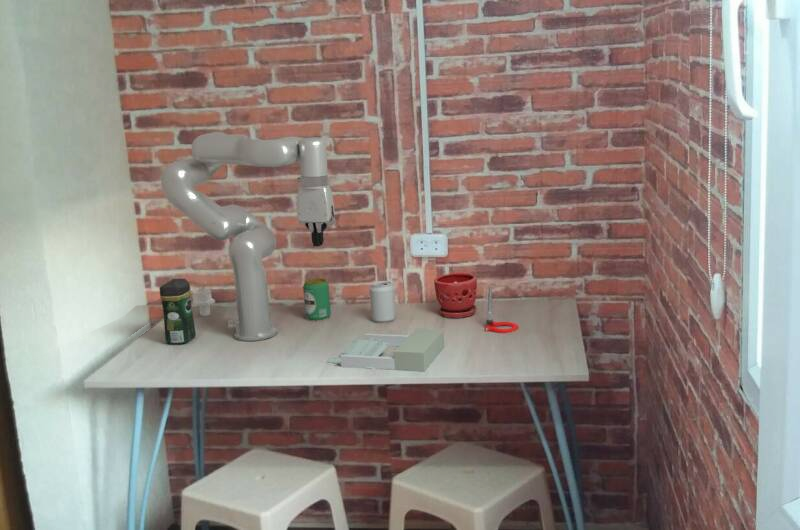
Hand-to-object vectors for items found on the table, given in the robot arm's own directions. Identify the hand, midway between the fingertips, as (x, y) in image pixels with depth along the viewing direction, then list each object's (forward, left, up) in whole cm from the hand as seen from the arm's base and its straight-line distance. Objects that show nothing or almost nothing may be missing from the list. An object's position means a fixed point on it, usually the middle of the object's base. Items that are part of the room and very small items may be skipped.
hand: (318, 245), depth 260 cm
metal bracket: (+17, -16, -29) cm, 37 cm away
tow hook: (+49, +16, -28) cm, 59 cm away
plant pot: (+32, +29, -28) cm, 52 cm away
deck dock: (+25, -13, -28) cm, 40 cm away
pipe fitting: (-51, +19, -28) cm, 61 cm away
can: (+11, +20, -28) cm, 36 cm away
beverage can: (-11, +20, -28) cm, 36 cm away
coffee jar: (-44, -8, -28) cm, 52 cm away
